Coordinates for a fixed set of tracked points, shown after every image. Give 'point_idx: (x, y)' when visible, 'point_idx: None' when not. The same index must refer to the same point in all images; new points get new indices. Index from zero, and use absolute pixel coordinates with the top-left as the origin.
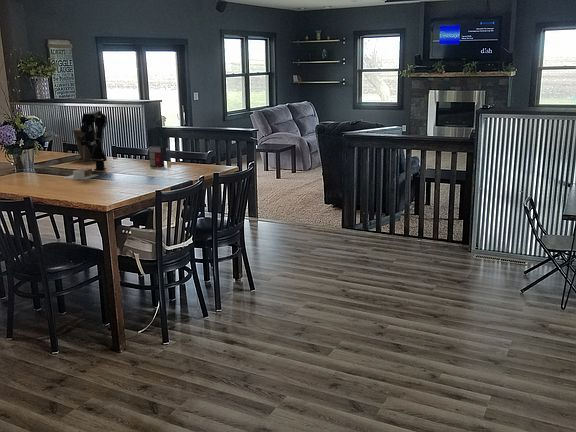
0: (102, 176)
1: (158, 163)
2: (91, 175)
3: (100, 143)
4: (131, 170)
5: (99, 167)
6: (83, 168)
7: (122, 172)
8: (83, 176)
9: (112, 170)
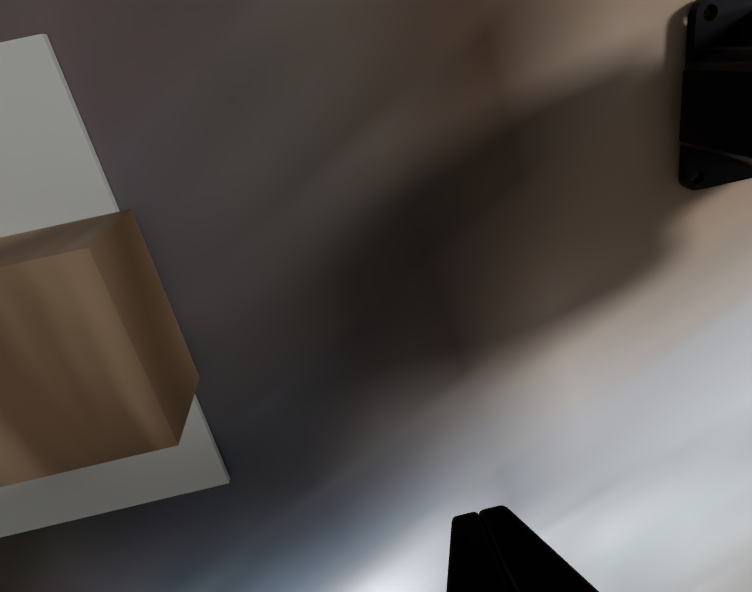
0: (179, 563)
1: None
2: None
3: None
4: (700, 545)
5: (705, 150)
6: (97, 274)
7: None
8: None
9: (674, 351)
